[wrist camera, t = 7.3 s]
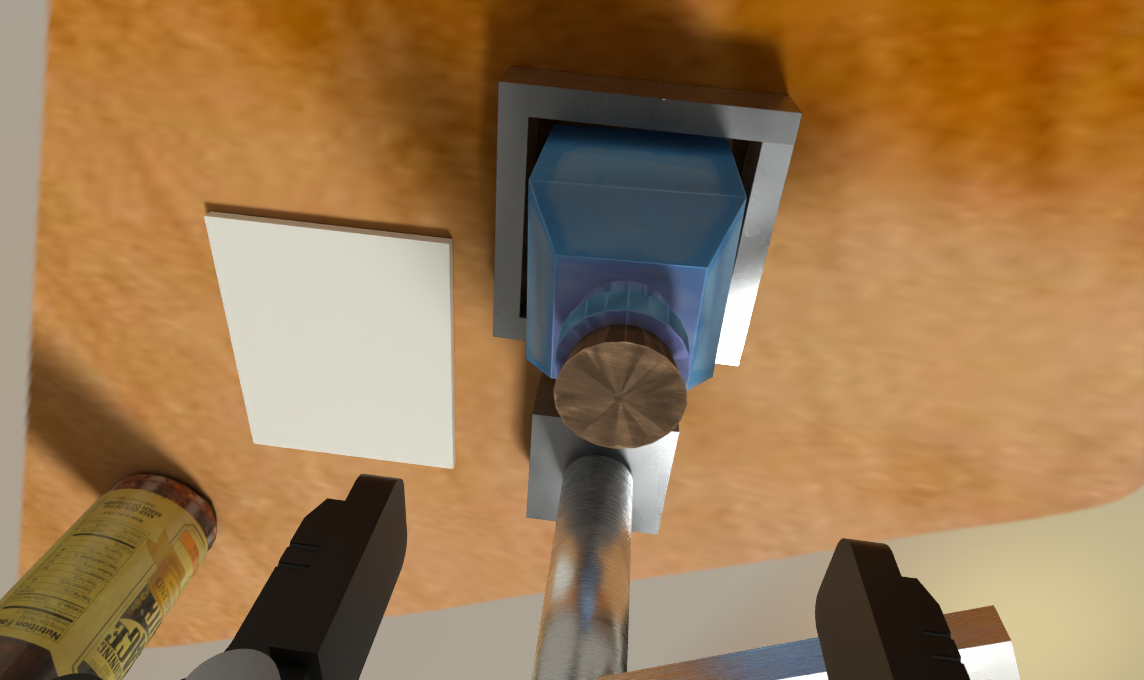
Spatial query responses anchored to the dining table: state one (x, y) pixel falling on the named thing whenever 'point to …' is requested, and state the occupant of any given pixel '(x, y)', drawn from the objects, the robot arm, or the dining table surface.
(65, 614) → the sauce bottle
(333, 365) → the pad
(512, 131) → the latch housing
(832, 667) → the robot arm
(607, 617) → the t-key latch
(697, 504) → the dining table surface
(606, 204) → the perfume bottle
